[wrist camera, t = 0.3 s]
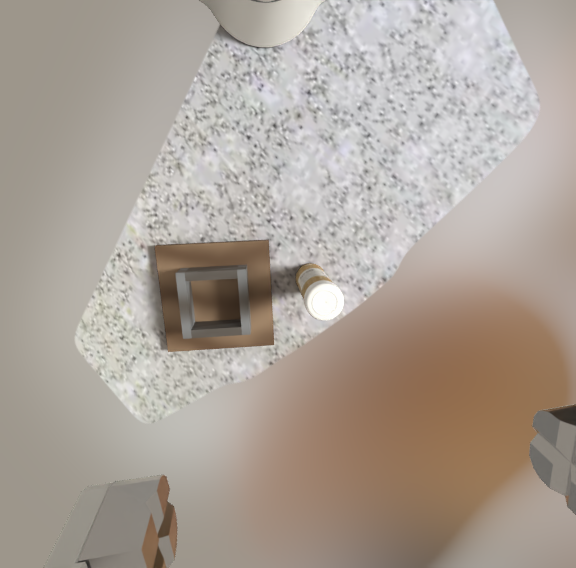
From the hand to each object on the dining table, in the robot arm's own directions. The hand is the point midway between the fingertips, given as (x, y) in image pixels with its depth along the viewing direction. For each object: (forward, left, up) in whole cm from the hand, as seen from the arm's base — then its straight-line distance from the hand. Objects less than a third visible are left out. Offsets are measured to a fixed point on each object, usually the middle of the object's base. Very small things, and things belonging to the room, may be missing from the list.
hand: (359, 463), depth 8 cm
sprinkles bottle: (+7, +5, -47) cm, 48 cm away
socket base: (+9, -9, -47) cm, 49 cm away
